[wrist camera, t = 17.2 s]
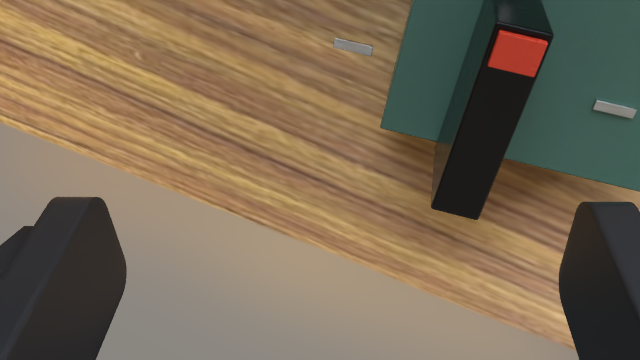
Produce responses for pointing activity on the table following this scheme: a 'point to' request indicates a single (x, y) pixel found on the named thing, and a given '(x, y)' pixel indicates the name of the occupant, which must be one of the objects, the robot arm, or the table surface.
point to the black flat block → (488, 102)
